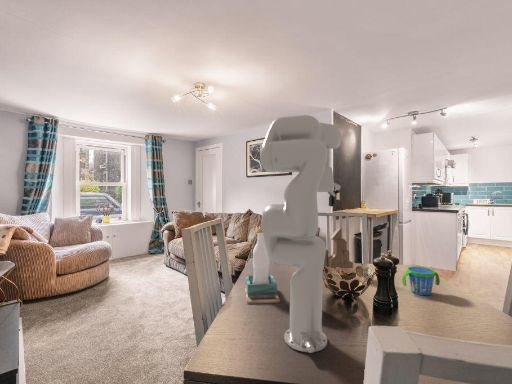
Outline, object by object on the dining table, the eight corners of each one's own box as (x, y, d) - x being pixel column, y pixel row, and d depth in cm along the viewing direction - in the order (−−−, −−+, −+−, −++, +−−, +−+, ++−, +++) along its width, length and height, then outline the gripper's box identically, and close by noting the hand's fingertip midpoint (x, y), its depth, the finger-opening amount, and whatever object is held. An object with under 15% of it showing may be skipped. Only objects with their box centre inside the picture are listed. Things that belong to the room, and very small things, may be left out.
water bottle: (250, 288, 119) (250, 232, 118) (265, 287, 121) (266, 231, 121) (255, 295, 112) (255, 235, 112) (271, 293, 114) (271, 234, 114)
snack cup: (408, 297, 113) (408, 273, 113) (396, 287, 124) (397, 265, 124) (447, 298, 112) (447, 274, 112) (432, 288, 123) (432, 266, 123)
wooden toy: (345, 270, 150) (345, 225, 149) (353, 274, 143) (353, 227, 143) (320, 273, 145) (321, 226, 144) (328, 277, 138) (328, 228, 138)
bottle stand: (279, 302, 107) (279, 287, 107) (247, 303, 106) (247, 288, 106) (273, 287, 123) (273, 274, 123) (244, 288, 122) (244, 275, 122)
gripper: (301, 163, 105) (301, 207, 105) (344, 163, 106) (344, 206, 107) (296, 164, 112) (296, 205, 112) (336, 165, 114) (336, 205, 114)
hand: (319, 206), depth 109 cm, fingers open, 9 cm apart
